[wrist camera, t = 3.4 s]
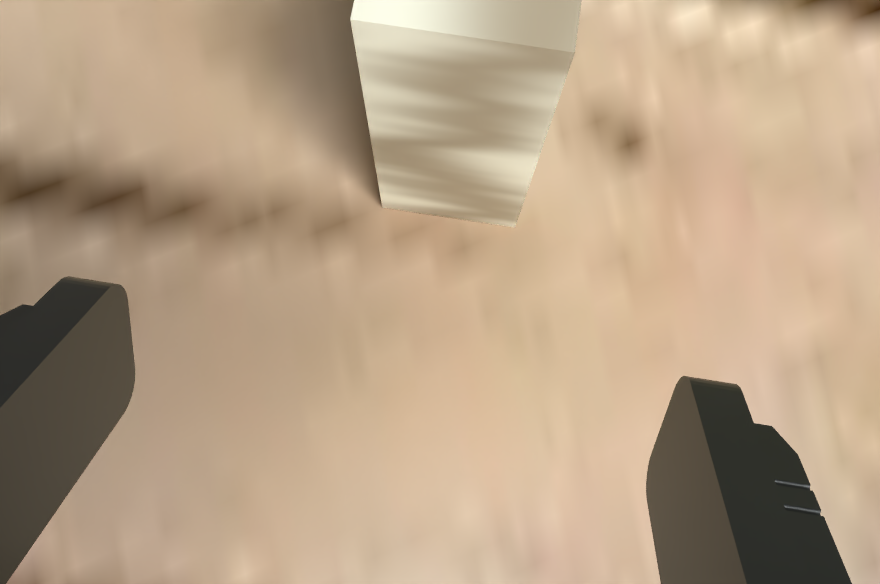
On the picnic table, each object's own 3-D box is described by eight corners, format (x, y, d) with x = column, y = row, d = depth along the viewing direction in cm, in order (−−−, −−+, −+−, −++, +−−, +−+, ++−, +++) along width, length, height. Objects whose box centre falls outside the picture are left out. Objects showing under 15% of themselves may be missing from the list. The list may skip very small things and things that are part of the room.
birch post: (382, 207, 26) (350, 19, 16) (404, 87, 27) (389, -167, 17) (514, 227, 26) (574, 52, 15) (531, 106, 27) (599, -137, 16)
